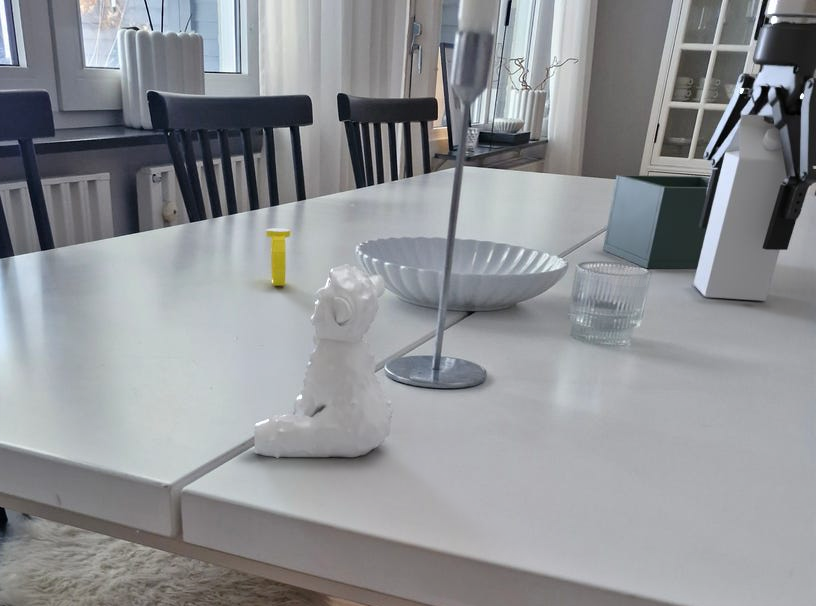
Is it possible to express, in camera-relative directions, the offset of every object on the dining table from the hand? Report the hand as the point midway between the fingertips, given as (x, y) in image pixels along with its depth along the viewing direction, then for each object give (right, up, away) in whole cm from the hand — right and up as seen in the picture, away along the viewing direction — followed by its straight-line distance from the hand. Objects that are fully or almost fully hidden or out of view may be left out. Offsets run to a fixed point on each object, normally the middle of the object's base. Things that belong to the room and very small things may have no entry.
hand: (740, 238), depth 107 cm
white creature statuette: (-49, -34, -44) cm, 74 cm away
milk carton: (0, -6, +3) cm, 7 cm away
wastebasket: (-1, +7, +22) cm, 23 cm away
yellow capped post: (-55, -6, -1) cm, 56 cm away
